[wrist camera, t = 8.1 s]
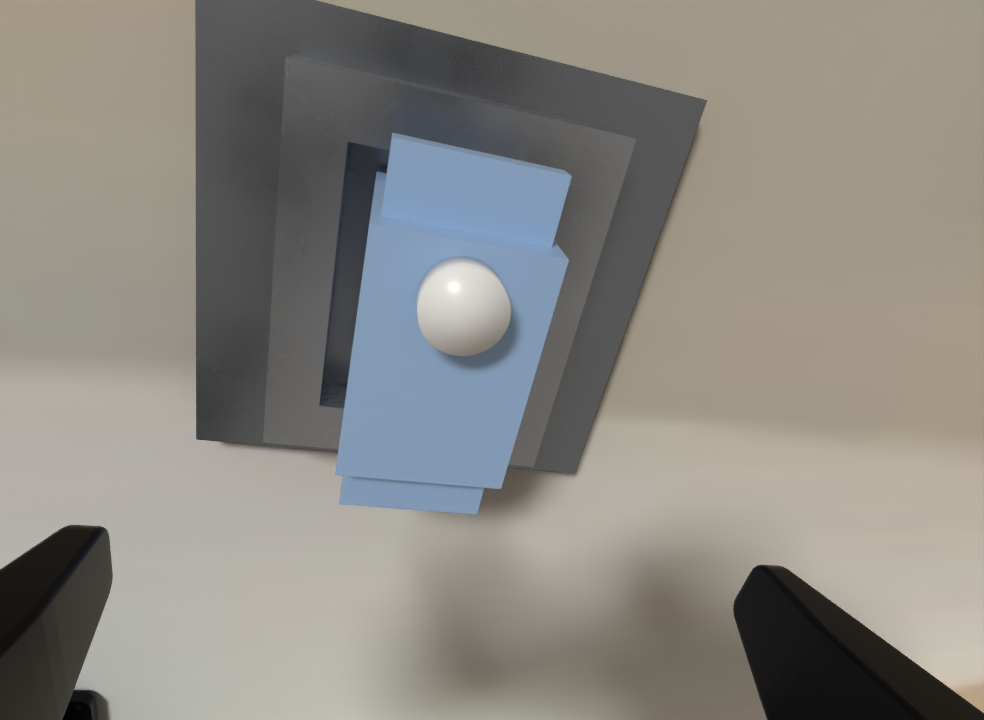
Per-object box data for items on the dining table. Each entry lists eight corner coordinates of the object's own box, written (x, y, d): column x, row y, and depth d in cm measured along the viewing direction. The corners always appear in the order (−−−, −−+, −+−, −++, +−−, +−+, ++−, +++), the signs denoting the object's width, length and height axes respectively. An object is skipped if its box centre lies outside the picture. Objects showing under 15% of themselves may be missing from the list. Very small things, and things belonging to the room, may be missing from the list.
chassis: (567, 456, 23) (586, 500, 21) (205, 421, 20) (181, 468, 18) (691, 97, 17) (734, 106, 15) (207, -27, 14) (173, -37, 12)
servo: (465, 415, 20) (492, 558, 15) (345, 402, 19) (325, 548, 14) (533, 141, 16) (603, 195, 11) (385, 107, 15) (379, 148, 10)
